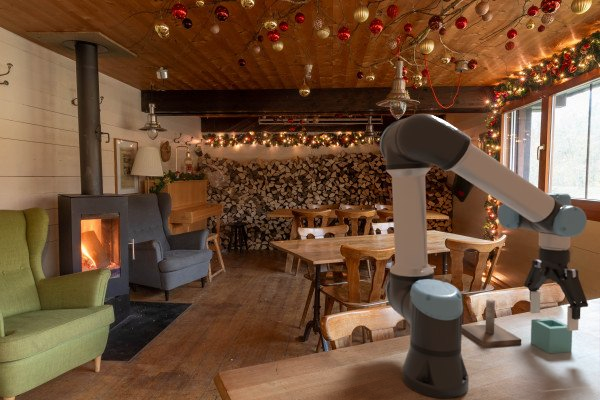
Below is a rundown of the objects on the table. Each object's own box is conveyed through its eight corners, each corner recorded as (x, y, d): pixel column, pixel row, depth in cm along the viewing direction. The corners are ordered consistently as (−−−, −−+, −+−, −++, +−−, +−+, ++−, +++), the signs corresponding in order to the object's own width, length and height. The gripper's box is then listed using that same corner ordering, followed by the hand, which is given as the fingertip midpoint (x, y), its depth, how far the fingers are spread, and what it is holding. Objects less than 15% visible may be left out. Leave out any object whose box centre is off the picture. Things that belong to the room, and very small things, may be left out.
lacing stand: (483, 347, 113) (484, 308, 112) (460, 330, 125) (461, 295, 124) (521, 344, 115) (522, 305, 114) (494, 328, 127) (495, 293, 126)
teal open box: (549, 353, 109) (550, 328, 108) (530, 342, 116) (531, 319, 115) (571, 351, 110) (572, 327, 109) (551, 341, 117) (552, 318, 116)
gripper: (606, 255, 99) (604, 337, 101) (533, 239, 124) (532, 305, 125) (580, 257, 98) (578, 339, 100) (512, 241, 123) (511, 307, 124)
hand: (552, 320), depth 112 cm, fingers open, 13 cm apart
